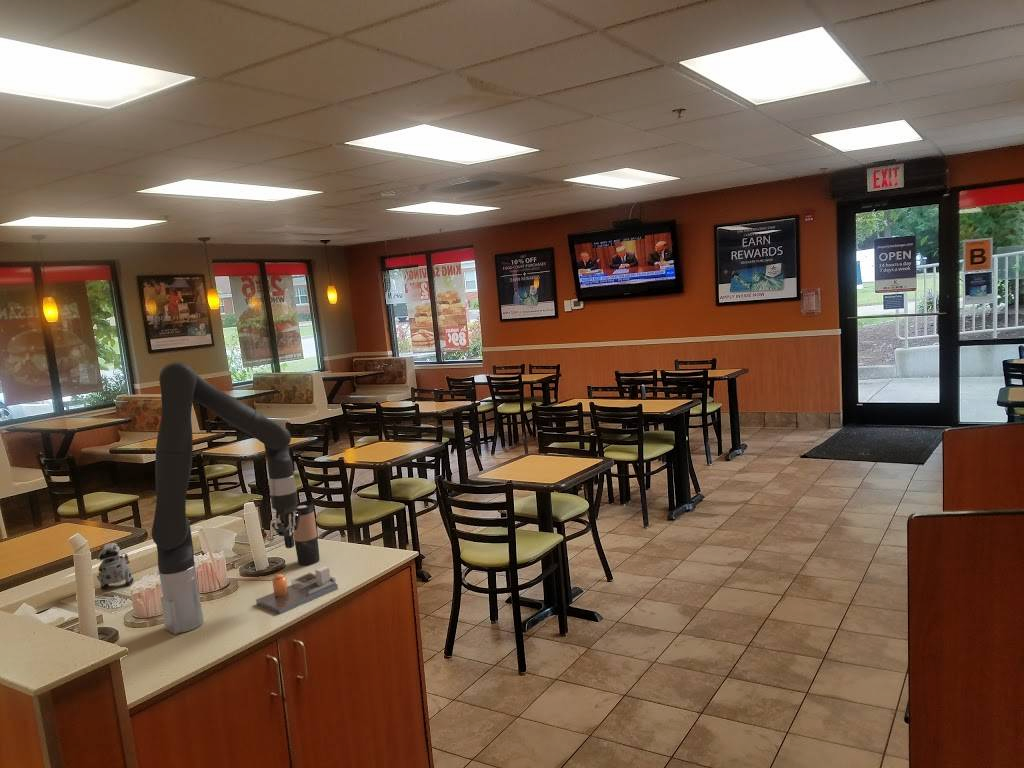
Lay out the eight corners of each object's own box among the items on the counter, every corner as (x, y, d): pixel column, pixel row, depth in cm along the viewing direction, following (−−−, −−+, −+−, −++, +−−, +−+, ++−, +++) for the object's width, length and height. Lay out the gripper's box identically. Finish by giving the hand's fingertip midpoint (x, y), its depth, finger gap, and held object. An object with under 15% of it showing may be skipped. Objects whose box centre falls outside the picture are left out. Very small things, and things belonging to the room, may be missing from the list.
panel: (279, 614, 207) (278, 603, 206) (256, 604, 216) (255, 593, 215) (338, 588, 222) (336, 578, 221) (314, 580, 230) (312, 570, 230)
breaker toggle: (322, 587, 220) (320, 571, 219) (317, 585, 222) (315, 569, 221) (331, 583, 222) (328, 567, 221) (325, 581, 224) (323, 566, 223)
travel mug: (323, 557, 252) (316, 501, 249) (315, 565, 244) (308, 508, 241) (302, 558, 252) (295, 503, 250) (294, 566, 245) (286, 509, 242)
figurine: (94, 597, 234) (86, 553, 232) (107, 584, 245) (100, 541, 243) (124, 592, 235) (116, 548, 233) (136, 579, 247) (129, 537, 245)
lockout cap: (278, 597, 215) (276, 579, 214) (271, 594, 218) (269, 576, 217) (290, 592, 218) (288, 574, 217) (283, 590, 221) (281, 572, 220)
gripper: (283, 497, 207) (290, 555, 209) (305, 484, 219) (312, 539, 221) (259, 497, 208) (266, 555, 210) (283, 485, 221) (290, 539, 223)
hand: (290, 547), depth 216 cm, fingers closed
